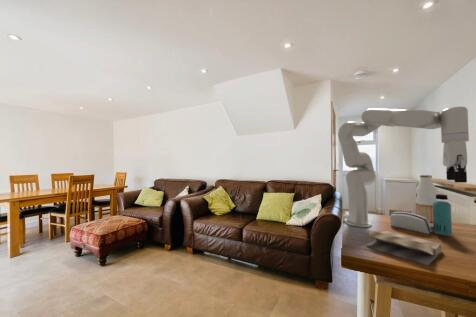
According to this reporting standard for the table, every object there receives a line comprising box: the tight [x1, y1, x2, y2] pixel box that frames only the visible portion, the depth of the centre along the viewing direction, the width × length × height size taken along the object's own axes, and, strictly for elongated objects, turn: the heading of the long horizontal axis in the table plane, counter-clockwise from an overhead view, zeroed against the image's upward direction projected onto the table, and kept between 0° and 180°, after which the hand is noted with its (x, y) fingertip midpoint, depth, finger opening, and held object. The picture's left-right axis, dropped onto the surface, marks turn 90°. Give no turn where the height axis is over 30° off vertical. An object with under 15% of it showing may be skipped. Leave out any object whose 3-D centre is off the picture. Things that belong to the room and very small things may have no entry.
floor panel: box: [365, 230, 442, 267], centre depth 85 cm, size 20×18×3 cm
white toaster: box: [389, 211, 432, 235], centre depth 109 cm, size 17×5×10 cm, turn 31°
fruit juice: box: [415, 174, 439, 228], centre depth 114 cm, size 9×9×28 cm
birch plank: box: [368, 230, 434, 255], centre depth 83 cm, size 19×8×2 cm, turn 34°
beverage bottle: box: [432, 193, 453, 236], centre depth 98 cm, size 6×7×20 cm
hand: (456, 181), depth 81 cm, fingers open, 9 cm apart
